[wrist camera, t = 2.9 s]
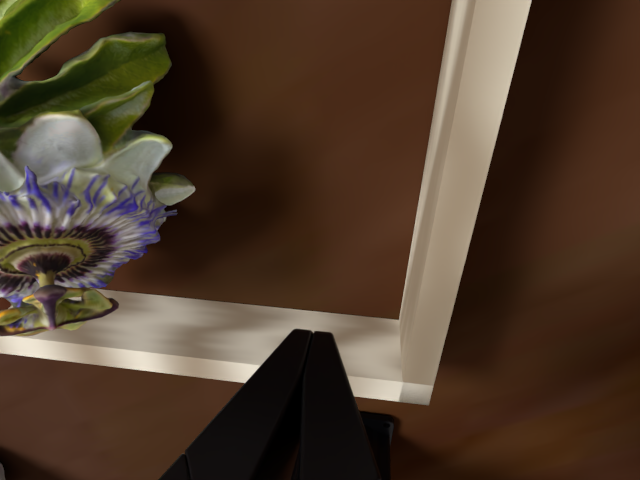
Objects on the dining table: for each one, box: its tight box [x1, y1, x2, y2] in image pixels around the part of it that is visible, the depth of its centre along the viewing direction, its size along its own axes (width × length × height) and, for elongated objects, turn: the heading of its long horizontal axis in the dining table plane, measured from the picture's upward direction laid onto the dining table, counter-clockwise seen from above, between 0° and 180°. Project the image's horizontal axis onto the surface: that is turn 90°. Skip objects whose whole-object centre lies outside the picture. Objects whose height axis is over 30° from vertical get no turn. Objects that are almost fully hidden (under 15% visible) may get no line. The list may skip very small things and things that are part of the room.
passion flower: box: [0, 0, 195, 336], centre depth 17 cm, size 13×12×14 cm
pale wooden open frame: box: [0, 0, 532, 405], centre depth 18 cm, size 24×23×4 cm
